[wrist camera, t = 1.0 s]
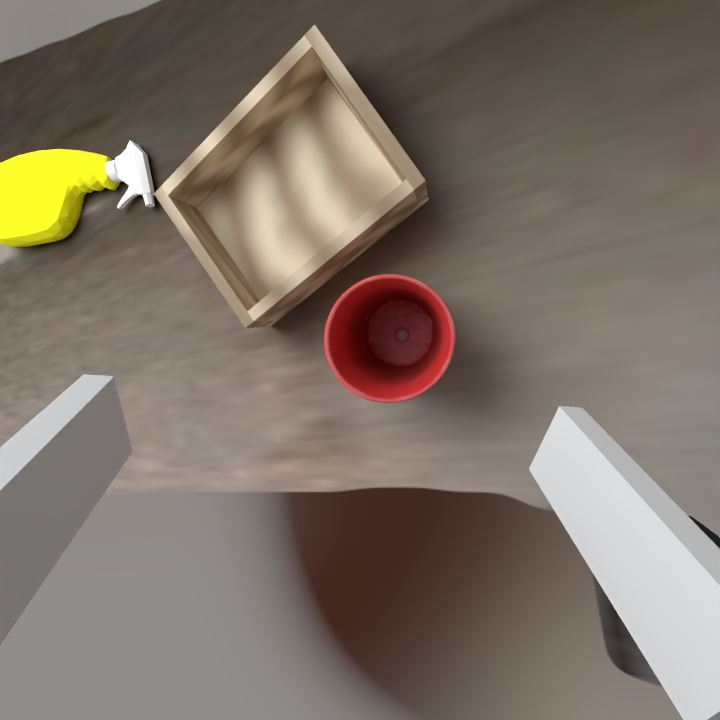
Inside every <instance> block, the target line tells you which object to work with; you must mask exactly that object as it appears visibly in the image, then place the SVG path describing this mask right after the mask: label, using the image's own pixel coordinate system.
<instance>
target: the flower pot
mask: <svg viewBox="0 0 720 720" xmlns="http://www.w3.org/2000/svg"><path fill="white" fill-rule="evenodd" d="M324 345H325V351H326V356H327V359H328V362H329V365H330V367H331V369H332V370H333V372H334V374H335V375H336V377H337V378H338V379H339V381H340V382H341V383H342V384H343V385H344V386H345V387H346V388H348V389H349V390H350V391H352V392H353V393H355V394H356V395H358V396H360V397H362V398H365V399H367V400H371V401H375V402H382V403H394V402H401V401H406V400H409V399H412V398H415V397H417V396H419V395H421V394H423V393H424V392H426V391H427V390H429V389H430V388H431V387H433V386H434V385H435V384H436V383H437V382H438V381H439V380H440V379H441V377H442V376H443V375H444V373H445V372H446V370H447V369H448V367H449V365H450V363H451V360H452V357H453V354H454V350H455V345H456V327H455V322H454V319H453V316H452V314H451V311H450V309H449V308H448V306H447V304H446V303H445V301H444V300H443V299H442V298H441V296H440V295H439V294H438V293H437V292H436V291H435V290H433V289H432V288H431V287H429V286H428V285H427V284H425V283H423V282H421V281H419V280H417V279H415V278H412V277H408V276H404V275H398V274H382V275H377V276H373V277H369V278H366V279H364V280H362V281H360V282H358V283H356V284H355V285H353V286H352V287H351V288H349V289H348V290H347V291H346V292H345V293H344V294H343V295H342V296H341V297H340V298H339V299H338V300H337V302H336V303H335V305H334V306H333V308H332V310H331V312H330V314H329V317H328V320H327V323H326V327H325V336H324Z"/></svg>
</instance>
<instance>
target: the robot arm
mask: <svg viewBox="0 0 720 720" xmlns="http://www.w3.org/2000/svg"><path fill="white" fill-rule="evenodd" d="M131 453H132V448H131V444H130V440H129V436H128V432H127V428H126V424H125V420H124V415H123V411H122V407H121V403H120V399H119V395H118V391H117V387H116V383H115V379H114V376H100V375H85V374H84V375H82V376H81V377H80V378H79V379H78V380H77V381H76V382H74V383H73V384H72V385H71V386H70V387H69V388H68V389H66V390H65V391H64V392H63V393H62V394H61V395H60V396H58V397H57V398H56V399H55V400H54V401H53V402H52V403H51V404H49V405H48V406H47V407H46V408H45V409H44V410H43V411H41V412H40V413H39V414H38V415H37V416H36V417H35V418H33V419H32V420H31V421H30V422H29V423H28V424H27V425H25V426H24V427H23V428H22V429H21V430H20V431H19V432H17V433H16V434H15V435H14V436H13V437H12V438H11V439H9V440H8V441H7V442H6V443H5V444H4V445H3V446H1V447H0V645H1V643H2V642H3V640H4V639H5V637H6V636H7V634H8V633H9V631H10V630H11V629H12V627H13V626H14V624H15V623H16V621H17V620H18V618H19V617H20V615H21V614H22V612H23V611H24V610H25V608H26V606H27V605H28V604H29V602H30V601H31V599H32V598H33V596H34V595H35V593H36V592H37V590H38V589H39V588H40V586H41V585H42V583H43V582H44V580H45V579H46V577H47V576H48V574H49V573H50V571H51V570H52V568H53V567H54V566H55V564H56V563H57V561H58V560H59V558H60V557H61V555H62V554H63V552H64V551H65V549H66V548H67V546H68V545H69V544H70V542H71V541H72V539H73V538H74V536H75V535H76V533H77V532H78V530H79V529H80V527H81V526H82V524H83V523H84V522H85V520H86V518H87V517H88V516H89V514H90V513H91V511H92V509H93V508H94V507H95V505H96V504H97V503H98V501H99V499H100V498H101V497H102V495H103V494H104V492H105V491H106V489H107V488H108V486H109V485H110V483H111V482H112V481H113V479H114V478H115V476H116V475H117V473H118V472H119V470H120V469H121V467H122V466H123V464H124V463H125V461H126V460H127V459H128V457H129V456H130V454H131ZM529 470H530V472H531V473H532V475H533V477H534V478H535V480H536V481H537V483H538V485H539V486H540V488H541V490H542V491H543V493H544V494H545V496H546V498H547V499H548V501H549V503H550V504H551V506H552V507H553V509H554V511H555V512H556V514H557V515H558V517H559V519H560V520H561V522H562V524H563V525H564V527H565V529H566V530H567V532H568V533H569V535H570V536H571V538H572V540H573V541H574V543H575V545H576V546H577V548H578V550H579V551H580V553H581V554H582V556H583V558H584V559H585V560H586V563H587V564H588V566H589V567H590V569H591V571H592V572H593V574H594V576H595V577H596V579H597V580H598V582H599V584H600V585H601V587H602V589H603V590H604V592H605V593H606V595H607V597H608V598H609V600H610V601H611V603H612V605H613V606H614V608H615V610H616V611H617V613H618V614H619V616H620V618H621V619H622V621H623V623H624V624H625V626H626V627H627V629H628V631H629V632H630V634H631V636H632V637H633V639H634V640H635V642H636V644H637V645H638V647H639V649H640V650H641V652H642V653H643V655H644V657H645V658H646V660H647V662H648V663H649V665H650V666H651V668H652V670H653V671H654V673H655V674H656V676H657V678H658V679H659V681H660V683H661V684H662V686H663V687H664V689H665V691H666V692H667V694H668V696H669V697H670V699H671V700H672V702H673V704H674V705H675V707H676V709H677V710H678V712H679V713H680V715H681V717H682V718H683V720H720V538H719V537H718V536H717V535H716V534H715V533H713V532H712V531H710V530H709V529H708V528H706V527H705V526H704V525H702V524H701V523H699V522H698V521H697V520H695V519H694V518H693V517H691V516H687V515H686V514H685V513H684V512H683V511H682V510H681V509H680V508H679V506H678V505H677V504H676V503H675V502H674V501H673V500H672V499H671V498H670V497H669V496H668V495H667V494H666V493H665V492H664V491H663V490H662V489H661V488H660V487H659V486H658V485H657V484H656V483H655V482H654V481H653V480H652V479H651V478H650V477H649V476H648V475H647V474H646V473H645V472H644V471H643V470H642V469H641V468H640V467H639V466H638V464H637V463H636V462H635V461H634V460H633V459H632V458H631V457H630V456H629V455H628V454H627V453H626V452H625V451H624V450H623V449H622V448H621V447H620V446H619V445H618V444H617V443H616V442H615V441H614V440H613V439H612V438H611V437H610V436H609V435H608V434H607V433H606V432H605V431H604V430H603V429H602V428H601V427H600V426H599V425H598V424H597V422H596V421H595V420H594V419H593V418H592V417H591V416H590V415H589V414H588V413H587V412H586V411H585V410H584V409H583V408H581V407H566V406H559V408H558V410H557V412H556V414H555V416H554V418H553V420H552V423H551V425H550V427H549V429H548V431H547V433H546V435H545V437H544V439H543V441H542V443H541V445H540V447H539V449H538V452H537V454H536V456H535V458H534V460H533V462H532V464H531V466H530V468H529Z"/></svg>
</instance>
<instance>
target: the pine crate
mask: <svg viewBox="0 0 720 720" xmlns="http://www.w3.org/2000/svg"><path fill="white" fill-rule="evenodd" d="M154 195H155V196H156V198H157V199H158V201H159V202H160V203H161V205H162V206H163V208H164V209H165V211H166V212H167V214H168V215H169V217H170V218H171V220H172V221H173V222H174V224H175V225H176V227H177V228H178V230H179V231H180V233H181V234H182V236H183V237H184V239H185V240H186V242H187V243H188V244H189V246H190V247H191V249H192V250H193V252H194V253H195V255H196V256H197V258H198V259H199V261H200V262H201V264H202V265H203V266H204V268H205V269H206V271H207V272H208V274H209V275H210V277H211V278H212V280H213V281H214V283H215V284H216V286H217V287H218V288H219V290H220V291H221V293H222V294H223V296H224V297H225V299H226V300H227V302H228V303H229V305H230V306H231V308H232V309H233V310H234V312H235V313H236V315H237V316H238V318H239V319H240V321H241V322H242V324H243V325H244V327H245V328H254V327H268V326H272V325H273V324H274V323H276V322H277V321H278V320H279V319H281V318H282V317H283V316H284V315H286V314H287V313H288V312H289V311H291V310H292V309H293V308H294V307H296V306H297V305H298V304H299V303H301V302H302V301H303V300H304V299H306V298H307V297H308V296H309V295H311V294H312V293H313V292H314V291H316V290H317V289H318V288H319V287H321V286H322V285H323V284H324V283H326V282H327V281H328V280H329V279H331V278H332V277H333V276H334V275H336V274H337V273H338V272H339V271H341V270H342V269H343V268H344V267H346V266H347V265H348V264H349V263H351V262H352V261H353V260H354V259H356V258H357V257H358V256H359V255H361V254H362V253H363V252H364V251H366V250H367V249H368V248H369V247H371V246H372V245H373V244H374V243H376V242H377V241H378V240H379V239H381V238H382V237H383V236H384V235H386V234H387V233H388V232H389V231H391V230H392V229H393V228H394V227H396V226H397V225H398V224H399V223H401V222H402V221H403V220H404V219H406V218H407V217H408V216H409V215H411V214H412V213H413V212H414V211H416V210H417V209H418V208H419V207H421V206H422V205H423V204H424V203H426V202H427V201H428V200H429V199H428V193H427V186H426V180H425V179H424V178H423V176H422V175H421V173H420V172H419V171H418V169H417V168H416V166H415V165H414V164H413V162H412V161H411V159H410V158H409V157H408V155H407V154H406V152H405V151H404V150H403V148H402V147H401V145H400V144H399V143H398V141H397V140H396V138H395V137H394V136H393V134H392V133H391V131H390V130H389V129H388V127H387V126H386V124H385V123H384V122H383V120H382V119H381V117H380V116H379V114H378V113H377V112H376V110H375V109H374V107H373V106H372V105H371V103H370V102H369V100H368V99H367V98H366V96H365V95H364V93H363V92H362V91H361V89H360V88H359V86H358V85H357V84H356V82H355V81H354V79H353V78H352V77H351V75H350V74H349V72H348V71H347V70H346V68H345V67H344V65H343V64H342V63H341V61H340V60H339V58H338V57H337V56H336V54H335V53H334V51H333V50H332V49H331V47H330V46H329V44H328V43H327V42H326V40H325V39H324V37H323V36H322V35H321V33H320V32H319V30H318V29H317V27H316V26H315V25H314V26H313V27H312V28H311V29H310V30H309V31H308V32H307V33H306V34H305V35H304V36H303V37H302V38H301V40H300V41H299V42H298V43H297V44H296V45H295V46H294V47H293V48H292V49H291V50H290V51H289V52H288V53H287V54H286V55H285V56H284V57H283V58H282V59H281V61H280V62H279V63H278V64H277V65H276V66H275V67H274V68H273V69H272V70H271V71H270V72H269V73H268V74H267V75H266V76H265V77H264V78H263V79H262V81H261V82H260V83H259V84H258V85H257V86H256V87H255V88H254V89H253V90H252V91H251V92H250V93H249V94H248V95H247V96H246V97H245V98H244V99H243V101H242V102H241V103H240V104H239V105H238V106H237V107H236V108H235V109H234V110H233V111H232V112H231V113H230V114H229V115H228V116H227V117H226V118H225V119H224V121H223V122H222V123H221V124H220V125H219V126H218V127H217V128H216V129H215V130H214V131H213V132H212V133H211V134H210V135H209V136H208V137H207V138H206V139H205V141H204V142H203V143H202V144H201V145H200V146H199V147H198V148H197V149H196V150H195V151H194V152H193V153H192V154H191V155H190V156H189V157H188V158H187V159H186V160H185V162H184V163H183V164H182V165H181V166H180V167H179V168H178V169H177V170H176V171H175V172H174V173H173V174H172V175H171V176H170V177H169V178H168V179H167V180H166V182H165V183H164V184H163V185H162V186H161V187H160V188H159V189H158V190H157V191H156V192H155V193H154Z"/></svg>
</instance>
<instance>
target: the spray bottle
mask: <svg viewBox="0 0 720 720" xmlns="http://www.w3.org/2000/svg"><path fill="white" fill-rule="evenodd" d="M123 181H124V182H125V183H126V184H128V185H129V187H128V190H127V192H126V193H125V194H124V196H123V197H122V199H121V200H120V202H119V204H118V206H117V207H118V208H119V209H122V208H123V207H124V206H125V205H126V204H127V203H128V202H130V201H131V200H132V199H133V198H134V197H136V196H138V195H142V196H143V198H144V201H145V205H146V206H147V207H154V206H155V203H154V197H153V195H154V193H155V192H154V187H153V182H152V177H151V172H150V167H149V162H148V157H147V154H146V153H145V152H144V151H143V150H142V148H141V147H140V146H139V145H137V144H136V143H134V142H132V141H129V143H128V145H127V148H126V149H125V150H124V152H123V153H122V154H120V155H119V156H117V157H116V158H115V160H112V159H111V158H109V157H107V156H104V155H100V154H96V153H91V152H85V151H79V150H66V149H53V150H42V151H36V152H31V153H27V154H23V155H18V156H16V157H13V158H11V159H9V160H6V161H4V162H2V163H0V243H1V244H4V245H8V246H12V247H27V246H33V245H39V244H44V243H50V242H55V241H58V240H61V239H64V238H66V237H67V236H68V235H69V234H70V233H72V232H73V230H74V228H75V227H76V224H77V222H78V220H79V217H80V213H81V209H82V205H83V201H84V196H85V194H86V193H87V192H88V193H91V192H92V191H94V190H96V191H102V190H103V189H104V188H108V189H111V190H116V189H117V188H118V186H119V184H120V182H123Z"/></svg>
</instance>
